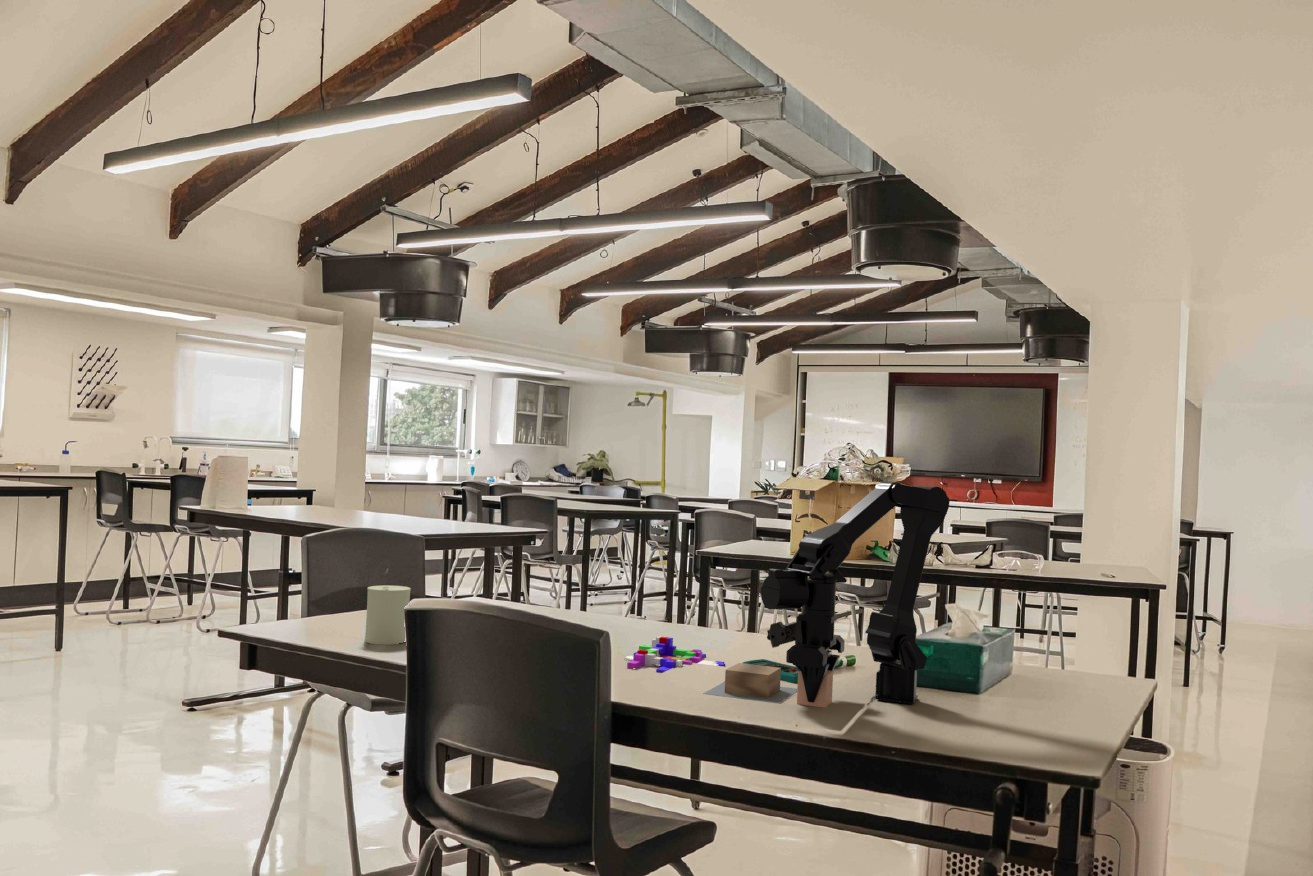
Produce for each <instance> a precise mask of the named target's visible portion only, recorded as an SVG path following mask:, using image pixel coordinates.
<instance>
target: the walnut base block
mask: <svg viewBox="0 0 1313 876" xmlns="http://www.w3.org/2000/svg"><path fill="white" fill-rule="evenodd" d="M724 676H725V677H724V682H725V693H732V694H740V695H748V696H756V697H764V698H769V697H770V696H772V695H773V694H775V693H776V692H778V691H779V690H780V687H781V680H780V678H781V668H778V667H769V666H761V665H752V664H743V662H738V663H736V664H734V665H732V666H730V667H728V668H726V669H725V673H724Z"/></svg>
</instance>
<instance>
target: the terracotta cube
mask: <svg viewBox="0 0 1313 876" xmlns="http://www.w3.org/2000/svg"><path fill="white" fill-rule="evenodd" d="M833 682H834V670H833V671H831V670H827V672H826V674H825V677H824V679H823V682H822V684H821V687H820V689H819V692H818V694H817V697H816V699H815V702H808V700H807V696H806V691H805V686H804V682H803V677H802V673H801V671H799V672H798V683H797V688H796V689H797V692H796V693H797V694H796V704H797V705H800V706H801V705H803V706H810V707H819V708H827V707H828V706H829V705H831V704H832V703H833V685H834V683H833Z"/></svg>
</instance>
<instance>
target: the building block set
mask: <svg viewBox="0 0 1313 876" xmlns="http://www.w3.org/2000/svg"><path fill="white" fill-rule="evenodd" d="M673 640H674V637H668V636H660V635H659V636H656V637H655V638H653V639H651V645H647V644H641V645H638V650H637V651H635V652H633V655H627V656H624V660H625V659H626V660H628V661H627V663H626V664H627V665H626V668H627V669H629V668H637V669H638V668H642V667H645V666H644V665H646V667H654V666H656V665H658V666H659V667H658V668H656V669H655V673H666V672H667V671H670V670H672V669H675V668H677V667H679V668H680V667H682V666H683V665H692V664H699V665H700V664H701V665H708V666H715V667H716V666H717V667H723V668H725V667H726V663H725V661H720V660H715V661H714V660H705V659H704V658H706V657H707V654H706V653H703V651H702V649H692V650H689V649H687V648H686V649H684V648H677V645H673V643H674V641H673ZM703 659H704V660H703ZM626 660H625V661H626ZM629 661H630V662H629Z"/></svg>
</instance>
